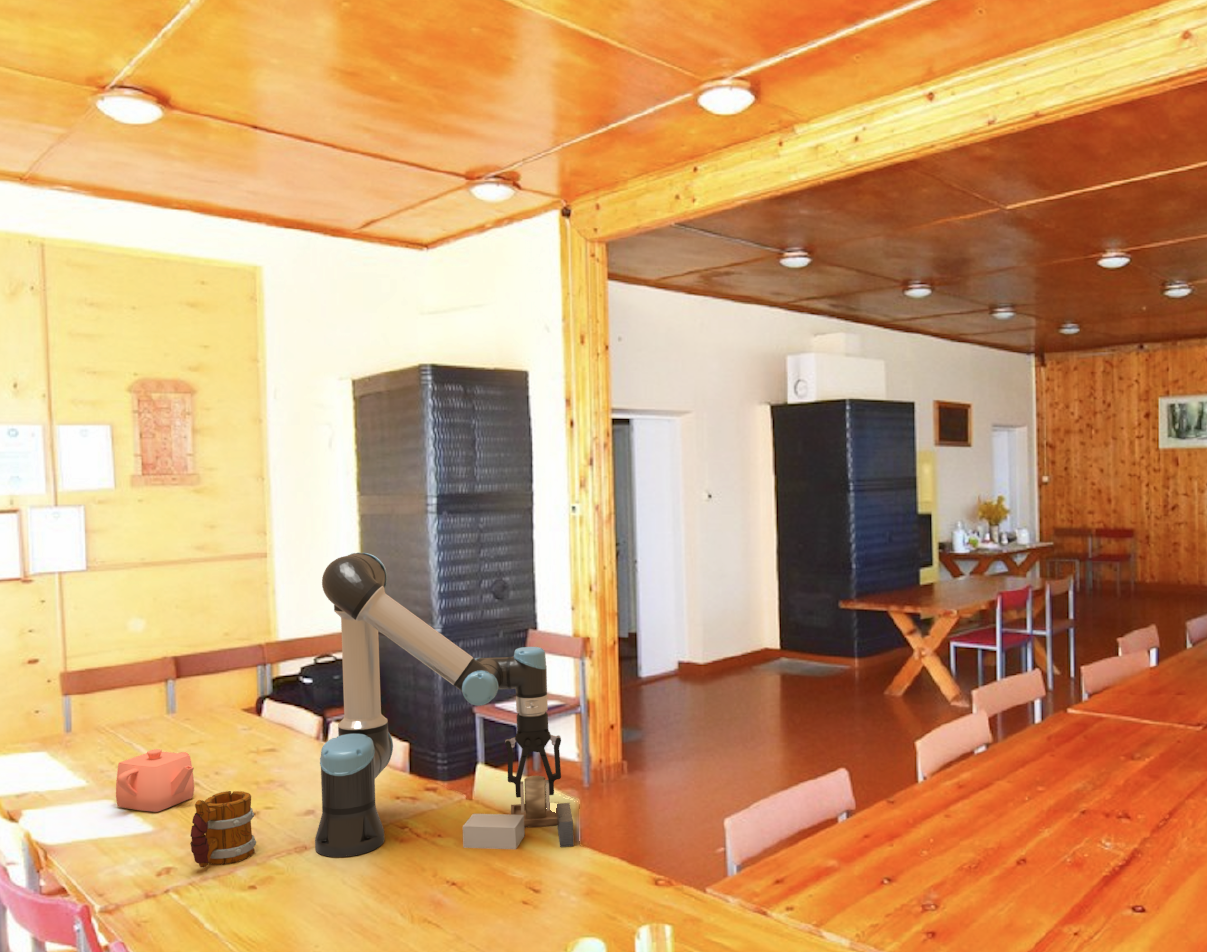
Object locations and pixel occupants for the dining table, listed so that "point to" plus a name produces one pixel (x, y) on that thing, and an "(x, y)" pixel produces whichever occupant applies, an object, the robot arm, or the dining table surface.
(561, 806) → the block
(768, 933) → the dining table surface
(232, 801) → the mug
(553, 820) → the tray
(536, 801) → the roller
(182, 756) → the teapot
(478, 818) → the slab
